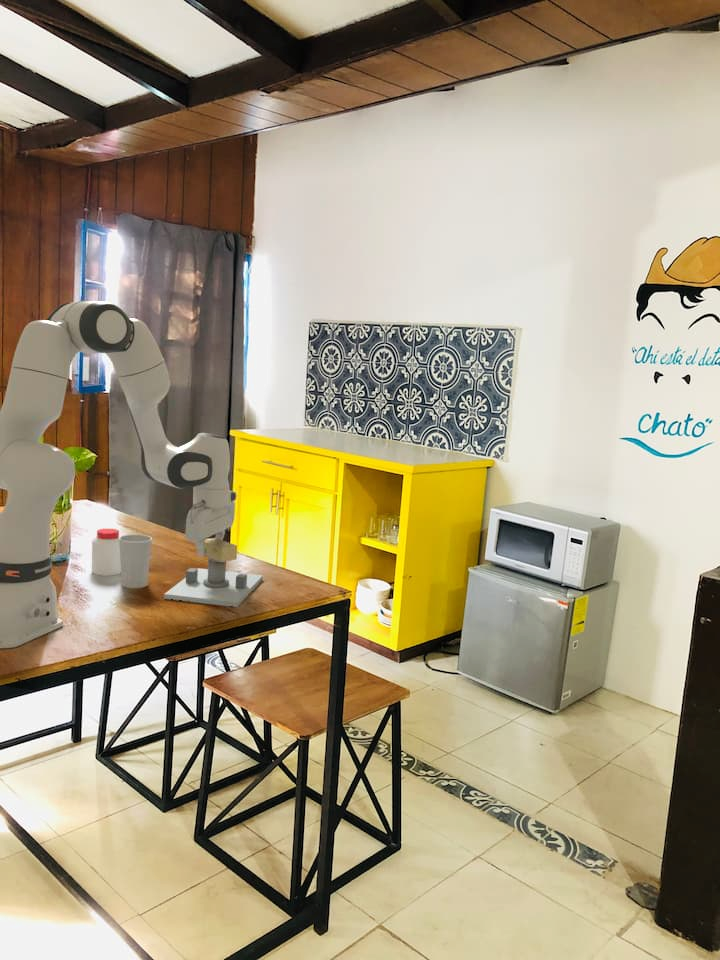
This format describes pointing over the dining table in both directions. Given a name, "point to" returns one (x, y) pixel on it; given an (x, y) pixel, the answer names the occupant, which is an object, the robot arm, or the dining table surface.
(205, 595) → the base
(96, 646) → the dining table surface
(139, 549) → the cup
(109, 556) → the pill bottle
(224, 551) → the tan parcel with label
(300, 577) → the dining table surface
